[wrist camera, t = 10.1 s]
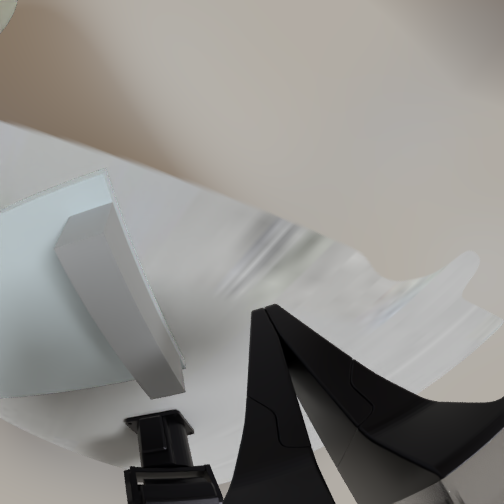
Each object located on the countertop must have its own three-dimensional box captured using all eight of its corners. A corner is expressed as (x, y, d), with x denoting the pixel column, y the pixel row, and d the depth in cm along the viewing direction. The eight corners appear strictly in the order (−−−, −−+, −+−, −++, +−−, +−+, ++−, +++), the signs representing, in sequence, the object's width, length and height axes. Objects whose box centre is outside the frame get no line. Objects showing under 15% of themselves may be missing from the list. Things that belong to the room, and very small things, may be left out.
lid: (184, 359, 15) (192, 402, 12) (-12, 392, 12) (-19, 424, 10) (105, 167, 9) (90, 198, 7) (-106, 272, 7) (-127, 303, 4)
